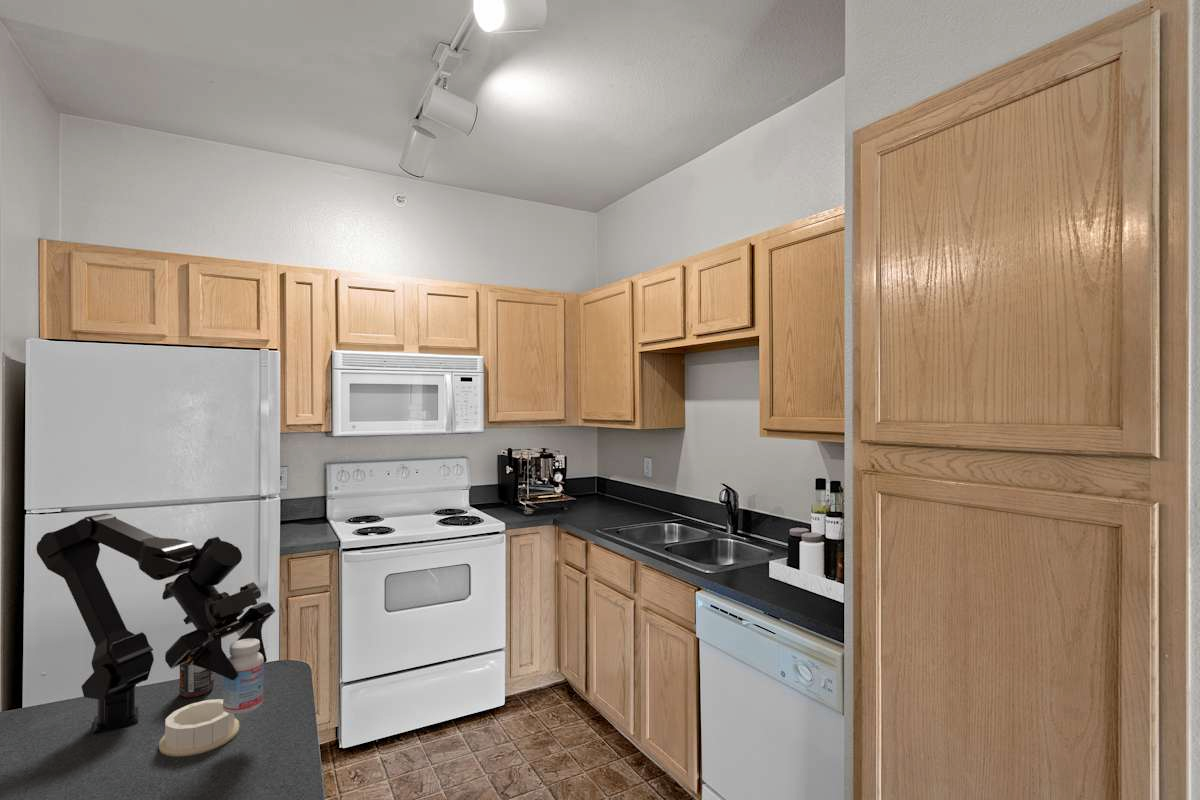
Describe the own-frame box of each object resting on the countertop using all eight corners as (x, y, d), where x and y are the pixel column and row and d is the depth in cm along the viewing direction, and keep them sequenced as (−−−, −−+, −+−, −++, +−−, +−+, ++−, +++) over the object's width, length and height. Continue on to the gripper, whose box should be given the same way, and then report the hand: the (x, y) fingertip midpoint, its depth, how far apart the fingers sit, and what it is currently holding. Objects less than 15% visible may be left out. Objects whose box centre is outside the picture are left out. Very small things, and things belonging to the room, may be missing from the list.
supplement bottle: (177, 690, 126) (178, 636, 126) (211, 682, 130) (211, 629, 130) (181, 701, 122) (181, 645, 122) (215, 692, 126) (216, 637, 126)
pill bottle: (244, 717, 104) (246, 651, 104) (214, 713, 105) (216, 648, 105) (270, 700, 110) (272, 638, 110) (241, 696, 111) (243, 635, 111)
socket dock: (157, 733, 110) (158, 710, 110) (234, 713, 117) (234, 691, 117) (160, 765, 100) (160, 739, 100) (243, 740, 108) (244, 716, 108)
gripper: (180, 588, 99) (234, 664, 97) (268, 559, 117) (315, 623, 115) (141, 630, 101) (193, 706, 99) (233, 596, 119) (279, 659, 117)
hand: (250, 670), depth 107 cm, fingers closed on pill bottle, 6 cm apart
